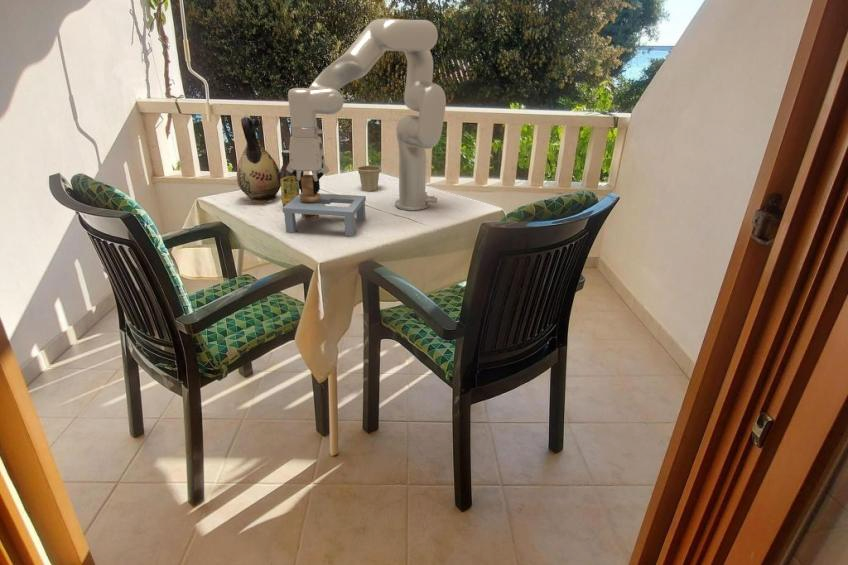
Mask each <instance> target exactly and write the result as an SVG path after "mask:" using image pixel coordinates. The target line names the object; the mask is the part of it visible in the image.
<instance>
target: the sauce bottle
mask: <svg viewBox="0 0 848 565" xmlns="http://www.w3.org/2000/svg"><path fill="white" fill-rule="evenodd" d="M281 157H282V165H281V168H280V169H279V171H280V176H281V178H280V181H281V187H280V191H281V192H280V193H281V203H282V208H283V207H284V206H285V205H287V204H288V203H289V202H290V201H292V200H293V199H294V198H295V197H297V196H298V195H299V194H300V193H301V192H300V189H299V181H298V180H297V178H296V177H295V176H294V175H293V174H292V173H290V172H289V171H287V170H286V168H287V166H288V164H289V162H290V159H289V150H288V149H287V150H285V149H284V150H282V151H281Z"/></svg>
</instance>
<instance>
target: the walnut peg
mask: <svg viewBox="0 0 848 565" xmlns="http://www.w3.org/2000/svg"><path fill="white" fill-rule="evenodd" d="M313 181H314V177H313V174H303V176H302V177H301V184H302V194H300V201H302V202H305V203H316V202H317V201H320V200H321V196H320V194H321V193H320V192H317V193H316V194H314V189H313ZM316 204H317V203H316ZM320 216H321V215H312V214H304V218H303V219H305V220H306V221H307V220H308V221H315V220H318V219H320Z"/></svg>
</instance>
